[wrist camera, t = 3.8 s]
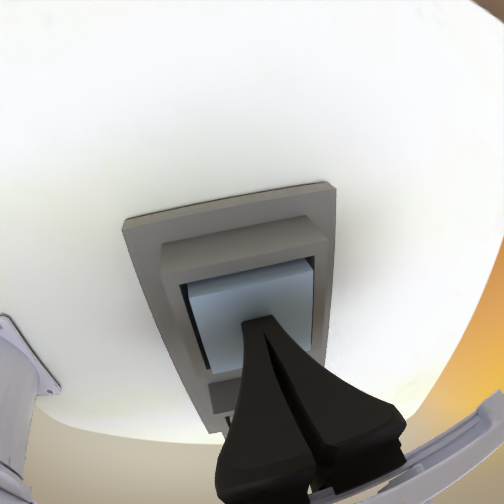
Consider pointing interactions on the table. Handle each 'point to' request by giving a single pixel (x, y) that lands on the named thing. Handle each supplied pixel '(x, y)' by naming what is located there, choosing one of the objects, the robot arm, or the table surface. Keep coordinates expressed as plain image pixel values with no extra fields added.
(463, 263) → the table surface
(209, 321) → the blue key
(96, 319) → the table surface
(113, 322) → the table surface
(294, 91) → the table surface
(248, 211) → the key board
